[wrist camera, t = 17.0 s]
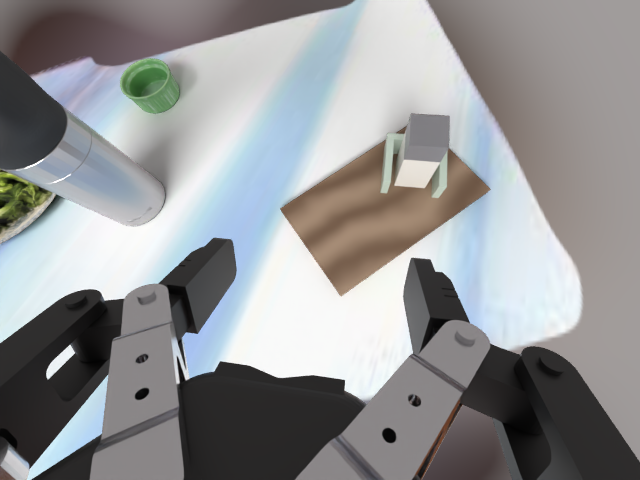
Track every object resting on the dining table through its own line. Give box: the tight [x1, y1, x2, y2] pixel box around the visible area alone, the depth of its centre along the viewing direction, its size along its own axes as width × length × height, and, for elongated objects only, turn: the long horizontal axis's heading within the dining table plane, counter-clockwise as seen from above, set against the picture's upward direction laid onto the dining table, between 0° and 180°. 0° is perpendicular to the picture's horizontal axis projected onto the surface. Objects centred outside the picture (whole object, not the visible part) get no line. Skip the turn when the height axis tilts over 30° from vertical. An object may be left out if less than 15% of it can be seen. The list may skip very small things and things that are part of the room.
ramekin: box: [120, 58, 179, 113], centre depth 51 cm, size 9×9×4 cm
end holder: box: [380, 133, 447, 198], centre depth 41 cm, size 8×8×4 cm
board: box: [280, 126, 491, 296], centre depth 42 cm, size 16×27×1 cm, turn 124°
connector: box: [394, 114, 450, 188], centre depth 38 cm, size 4×4×10 cm
